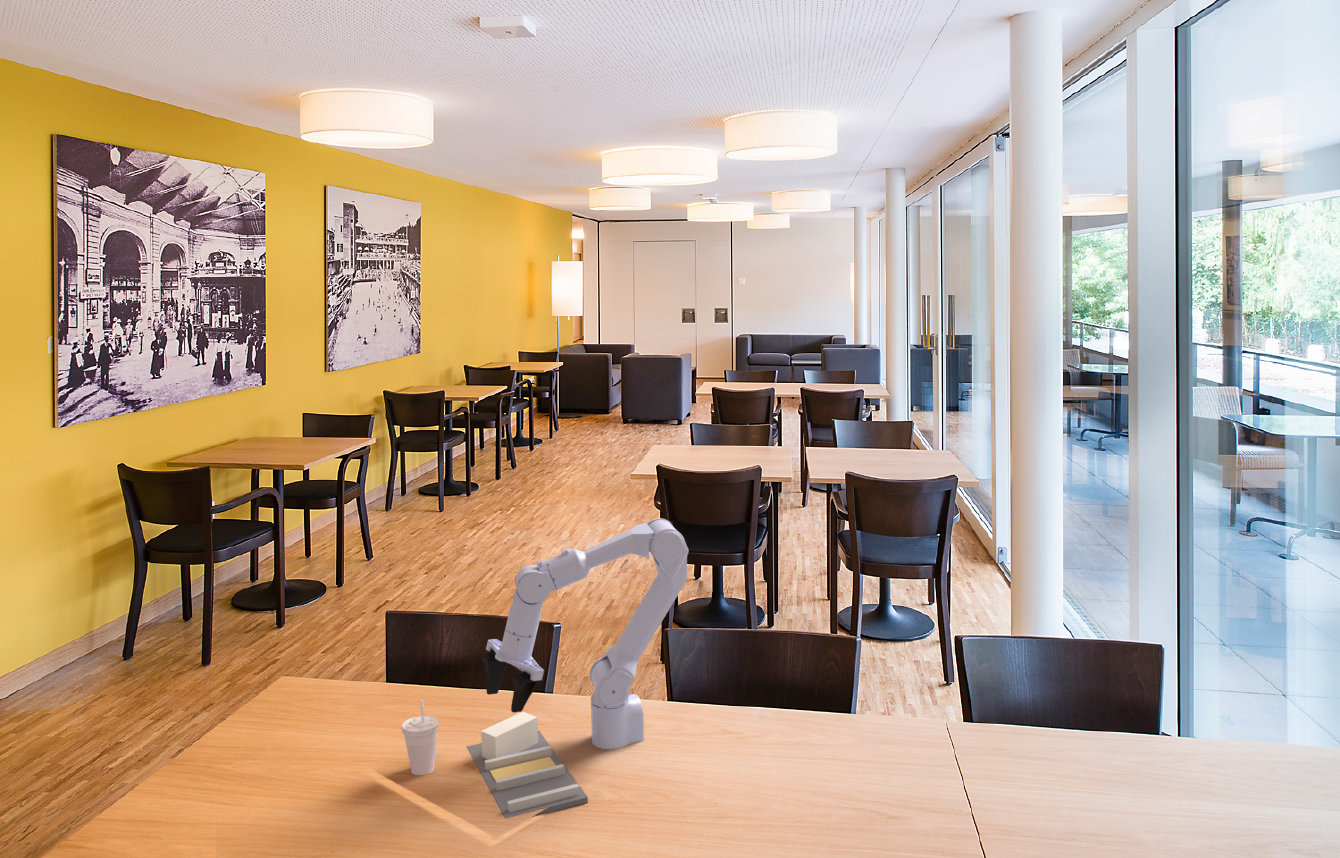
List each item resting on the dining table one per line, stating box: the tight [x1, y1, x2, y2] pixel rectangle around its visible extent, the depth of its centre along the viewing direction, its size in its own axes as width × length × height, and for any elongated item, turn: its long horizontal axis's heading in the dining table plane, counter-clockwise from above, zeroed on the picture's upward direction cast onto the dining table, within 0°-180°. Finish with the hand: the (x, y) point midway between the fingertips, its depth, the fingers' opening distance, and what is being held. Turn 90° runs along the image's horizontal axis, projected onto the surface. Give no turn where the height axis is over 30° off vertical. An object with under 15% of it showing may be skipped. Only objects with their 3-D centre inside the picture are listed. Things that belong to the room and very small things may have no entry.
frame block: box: [480, 711, 539, 760], centre depth 168 cm, size 10×4×5 cm, turn 140°
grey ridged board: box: [466, 730, 589, 819], centre depth 161 cm, size 14×27×2 cm, turn 25°
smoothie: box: [401, 699, 440, 776], centre depth 161 cm, size 6×6×14 cm
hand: (504, 702), depth 166 cm, fingers open, 7 cm apart
